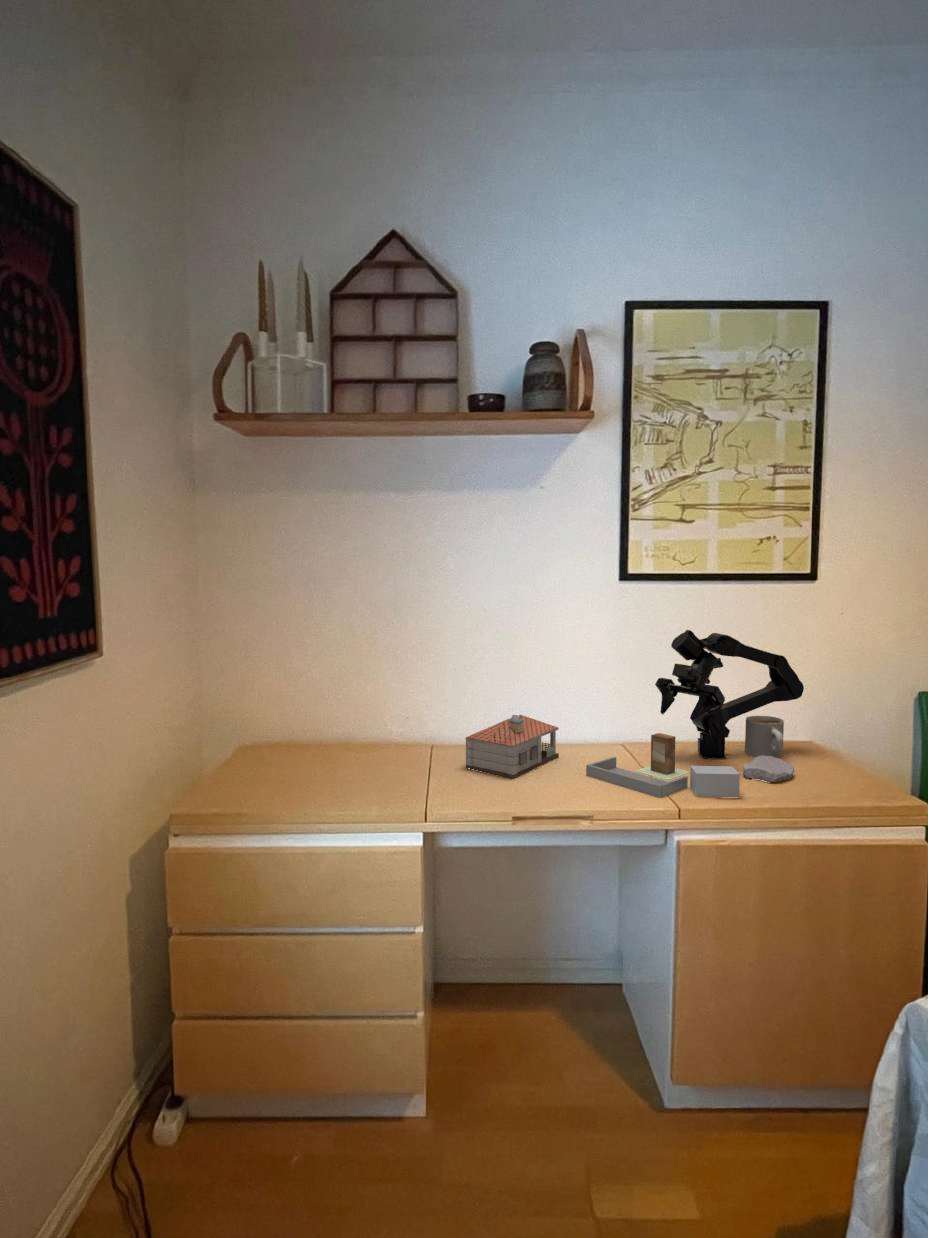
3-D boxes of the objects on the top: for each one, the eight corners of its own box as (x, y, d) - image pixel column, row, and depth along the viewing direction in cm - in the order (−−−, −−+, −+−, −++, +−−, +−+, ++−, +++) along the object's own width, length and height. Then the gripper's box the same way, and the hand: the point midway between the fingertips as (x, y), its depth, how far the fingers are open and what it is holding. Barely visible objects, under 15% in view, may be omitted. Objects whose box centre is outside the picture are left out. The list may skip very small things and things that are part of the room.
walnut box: (658, 767, 191) (659, 732, 190) (674, 772, 188) (675, 736, 187) (650, 770, 189) (650, 735, 188) (666, 775, 185) (667, 739, 184)
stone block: (795, 782, 186) (757, 766, 193) (799, 765, 185) (761, 750, 192) (777, 795, 178) (738, 778, 184) (781, 777, 177) (742, 761, 183)
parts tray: (613, 767, 193) (613, 756, 193) (687, 788, 176) (687, 776, 176) (586, 776, 186) (586, 765, 186) (660, 799, 169) (660, 786, 169)
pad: (658, 764, 195) (658, 763, 195) (690, 773, 188) (690, 771, 188) (635, 772, 189) (635, 770, 189) (667, 781, 181) (667, 780, 181)
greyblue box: (732, 790, 175) (732, 766, 174) (739, 799, 169) (739, 774, 168) (689, 789, 176) (690, 765, 175) (695, 798, 170) (696, 773, 169)
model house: (514, 780, 185) (514, 722, 183) (465, 769, 194) (464, 715, 192) (559, 758, 203) (559, 706, 202) (513, 749, 213) (512, 699, 211)
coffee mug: (740, 749, 210) (741, 715, 209) (775, 749, 209) (776, 715, 208) (755, 762, 196) (756, 726, 196) (792, 763, 196) (794, 727, 195)
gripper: (659, 649, 202) (634, 693, 196) (720, 656, 188) (695, 704, 182) (675, 673, 208) (651, 717, 202) (735, 682, 193) (711, 729, 188)
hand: (676, 716), depth 193 cm, fingers open, 9 cm apart
